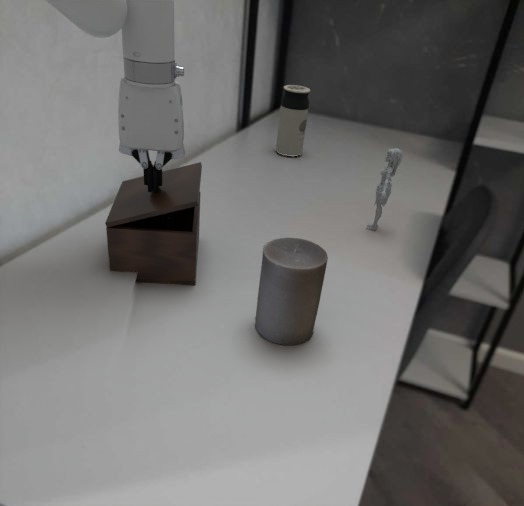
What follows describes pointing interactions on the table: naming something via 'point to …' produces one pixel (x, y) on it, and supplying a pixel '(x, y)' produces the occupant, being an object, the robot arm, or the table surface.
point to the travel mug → (292, 120)
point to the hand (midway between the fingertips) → (153, 189)
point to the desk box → (157, 249)
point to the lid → (156, 195)
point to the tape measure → (161, 222)
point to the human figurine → (386, 183)
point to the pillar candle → (289, 290)
